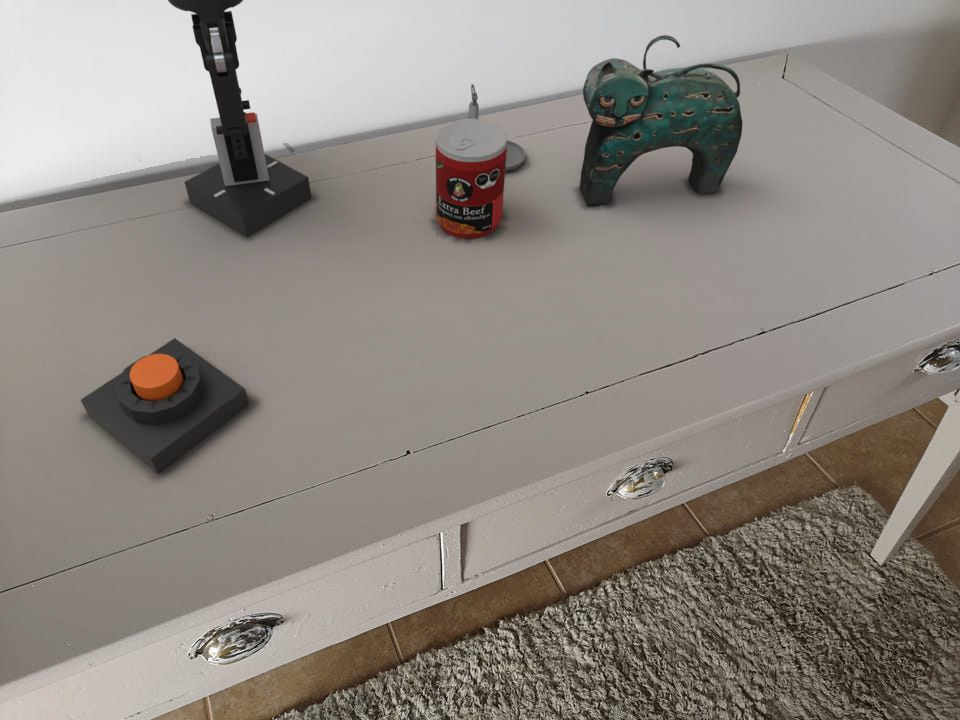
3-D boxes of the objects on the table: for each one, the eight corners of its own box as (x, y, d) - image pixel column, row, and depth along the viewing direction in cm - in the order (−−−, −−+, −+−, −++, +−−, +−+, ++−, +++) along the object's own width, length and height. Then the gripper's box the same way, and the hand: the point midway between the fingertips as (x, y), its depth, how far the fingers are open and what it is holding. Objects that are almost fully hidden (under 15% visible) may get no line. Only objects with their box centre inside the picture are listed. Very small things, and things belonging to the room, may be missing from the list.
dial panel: (190, 203, 92) (183, 180, 89) (255, 167, 97) (251, 145, 95) (246, 237, 88) (241, 214, 85) (311, 198, 93) (308, 175, 91)
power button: (125, 385, 68) (119, 372, 66) (164, 360, 70) (158, 346, 69) (154, 408, 66) (148, 395, 65) (192, 381, 68) (187, 368, 67)
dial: (225, 186, 89) (210, 125, 83) (224, 176, 90) (209, 116, 85) (269, 180, 90) (258, 120, 85) (267, 171, 92) (256, 111, 86)
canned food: (426, 231, 90) (424, 148, 82) (450, 194, 95) (451, 111, 87) (489, 247, 88) (494, 163, 80) (509, 208, 93) (516, 125, 85)
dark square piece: (88, 415, 70) (72, 386, 67) (180, 353, 75) (169, 324, 72) (157, 474, 66) (144, 445, 63) (249, 404, 71) (241, 375, 68)
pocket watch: (534, 165, 100) (542, 92, 93) (479, 183, 97) (482, 110, 89) (500, 135, 105) (504, 64, 97) (446, 151, 101) (446, 79, 94)
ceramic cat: (575, 213, 93) (600, 51, 79) (561, 182, 98) (582, 23, 83) (729, 199, 96) (780, 41, 82) (708, 170, 101) (754, 14, 86)
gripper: (247, -16, 68) (286, 205, 86) (233, -75, 78) (270, 134, 95) (158, -9, 67) (215, 215, 84) (155, -70, 76) (207, 141, 94)
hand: (245, 172), depth 90 cm, fingers closed on dial, 2 cm apart
